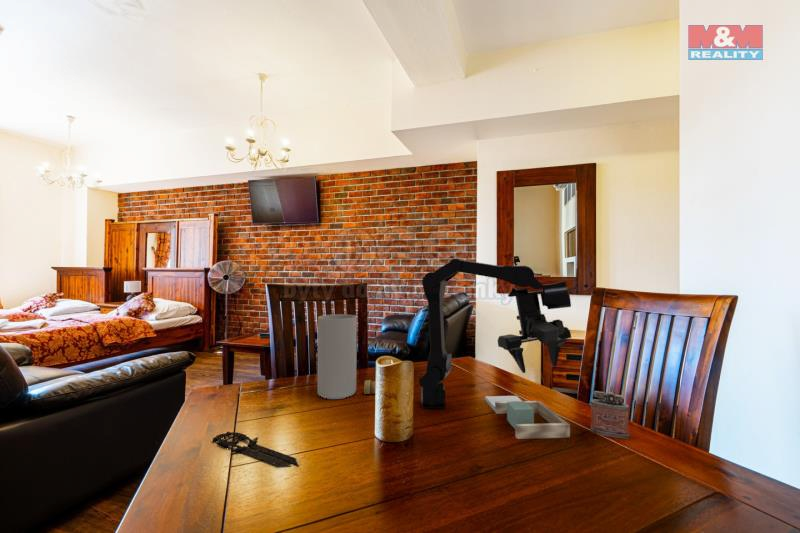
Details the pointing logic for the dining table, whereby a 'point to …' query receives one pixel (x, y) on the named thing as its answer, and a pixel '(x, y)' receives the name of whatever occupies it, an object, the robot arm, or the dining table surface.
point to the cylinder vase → (337, 356)
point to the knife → (253, 445)
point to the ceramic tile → (500, 399)
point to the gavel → (369, 387)
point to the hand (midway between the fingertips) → (539, 369)
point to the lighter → (609, 415)
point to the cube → (519, 413)
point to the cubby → (547, 430)
